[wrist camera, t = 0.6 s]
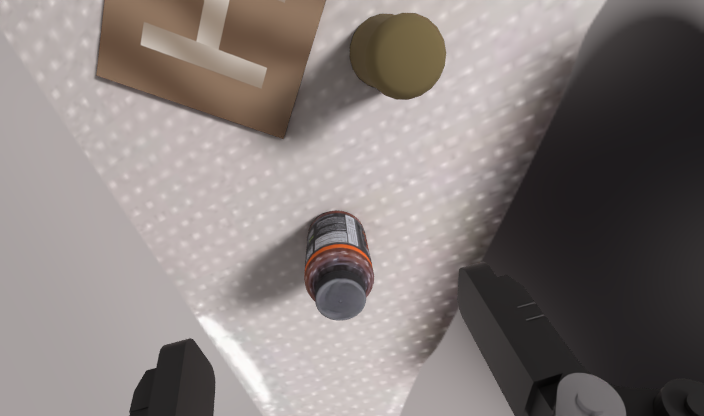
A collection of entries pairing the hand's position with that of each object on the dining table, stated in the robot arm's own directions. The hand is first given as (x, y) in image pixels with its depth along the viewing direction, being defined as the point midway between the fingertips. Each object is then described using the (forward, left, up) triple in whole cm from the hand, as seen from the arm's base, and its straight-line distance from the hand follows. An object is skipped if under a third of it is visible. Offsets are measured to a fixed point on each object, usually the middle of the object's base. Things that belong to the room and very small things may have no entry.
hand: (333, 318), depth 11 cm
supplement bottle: (+10, +5, -27) cm, 29 cm away
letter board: (-6, -11, -26) cm, 29 cm away
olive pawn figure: (-8, +3, -27) cm, 28 cm away
